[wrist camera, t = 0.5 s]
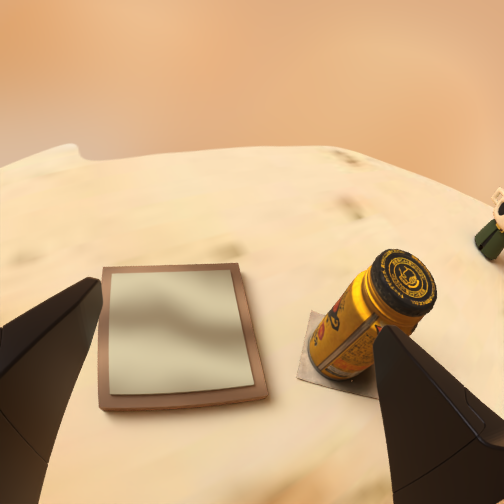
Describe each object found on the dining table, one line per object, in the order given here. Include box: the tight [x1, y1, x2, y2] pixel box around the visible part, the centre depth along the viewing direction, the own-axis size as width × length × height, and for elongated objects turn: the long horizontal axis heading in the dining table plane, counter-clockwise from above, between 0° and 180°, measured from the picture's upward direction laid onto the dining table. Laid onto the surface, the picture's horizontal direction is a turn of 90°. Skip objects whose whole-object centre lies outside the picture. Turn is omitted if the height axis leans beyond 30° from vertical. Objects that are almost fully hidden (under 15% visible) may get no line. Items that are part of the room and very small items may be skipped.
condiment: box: [296, 249, 437, 399], centre depth 22 cm, size 7×8×12 cm
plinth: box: [98, 263, 268, 411], centre depth 24 cm, size 13×13×2 cm
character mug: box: [475, 187, 504, 260], centre depth 40 cm, size 11×7×13 cm, turn 18°
